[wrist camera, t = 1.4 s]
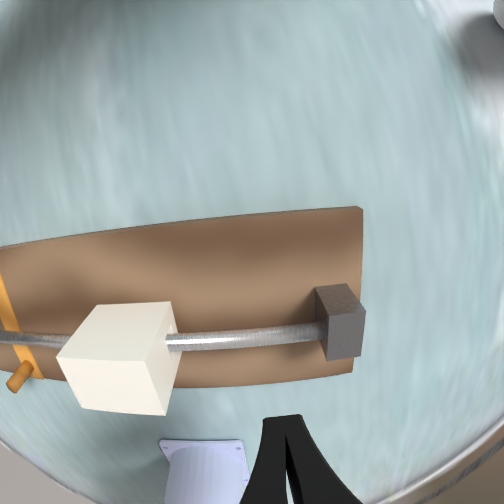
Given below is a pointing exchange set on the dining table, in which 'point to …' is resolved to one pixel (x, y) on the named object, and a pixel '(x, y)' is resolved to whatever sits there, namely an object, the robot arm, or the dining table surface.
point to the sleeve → (123, 358)
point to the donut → (499, 12)
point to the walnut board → (188, 288)
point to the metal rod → (259, 330)
